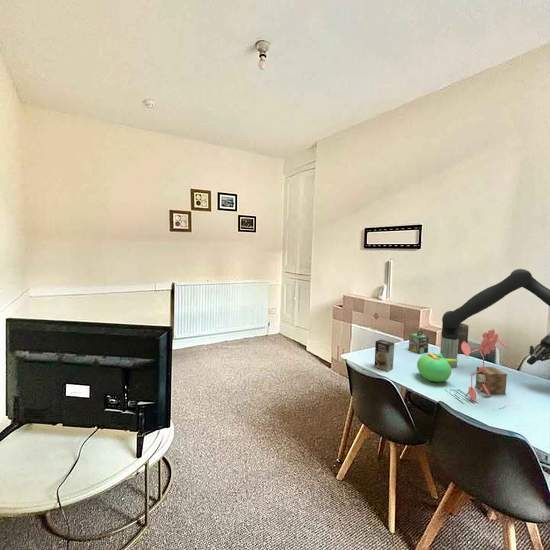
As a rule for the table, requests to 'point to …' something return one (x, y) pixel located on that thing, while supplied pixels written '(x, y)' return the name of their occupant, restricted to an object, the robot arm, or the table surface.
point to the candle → (462, 336)
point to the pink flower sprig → (487, 346)
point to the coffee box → (384, 355)
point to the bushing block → (493, 381)
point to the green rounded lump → (435, 367)
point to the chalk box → (418, 343)
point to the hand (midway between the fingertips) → (528, 363)
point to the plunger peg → (481, 378)
